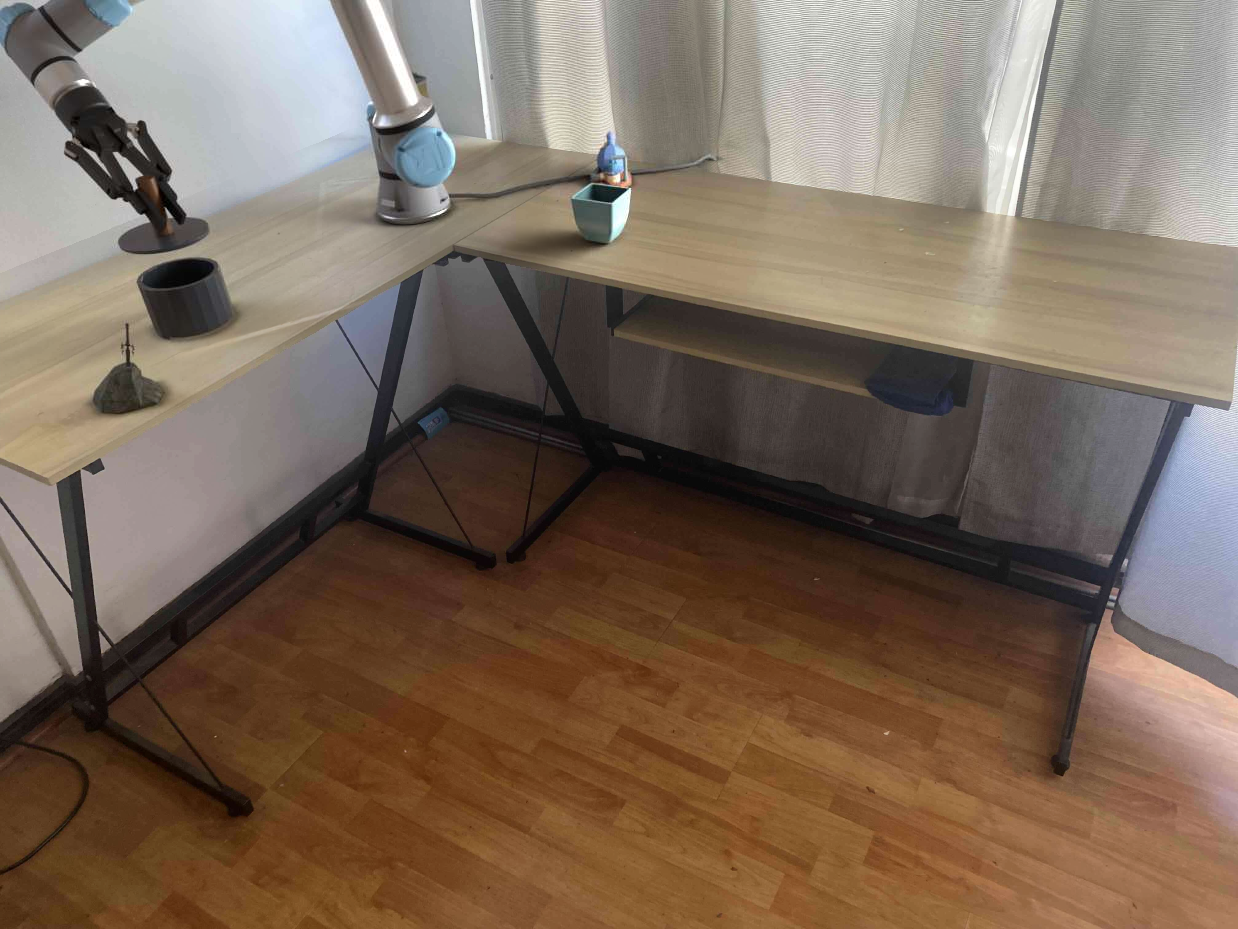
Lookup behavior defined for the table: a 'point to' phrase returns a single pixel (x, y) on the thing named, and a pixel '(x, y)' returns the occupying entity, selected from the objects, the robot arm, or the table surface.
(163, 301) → the tin
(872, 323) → the table surface
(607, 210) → the flower pot
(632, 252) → the table surface
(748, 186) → the table surface
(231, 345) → the table surface
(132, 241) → the lid
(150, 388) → the sword in stone
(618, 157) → the model
